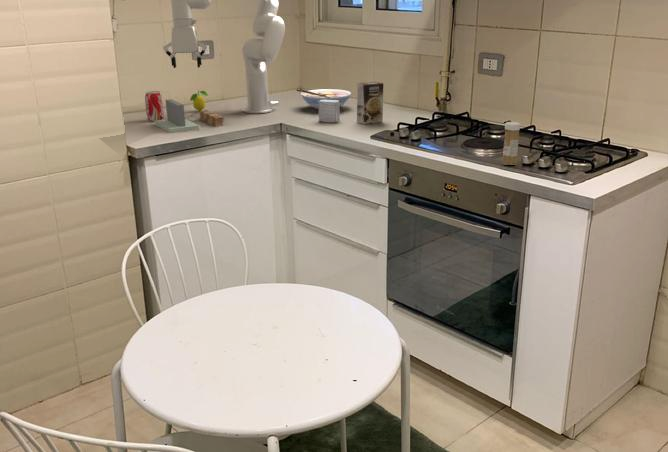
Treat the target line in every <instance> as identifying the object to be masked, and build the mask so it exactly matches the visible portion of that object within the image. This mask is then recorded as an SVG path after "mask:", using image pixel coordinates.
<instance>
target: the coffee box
mask: <svg viewBox="0 0 668 452" xmlns="http://www.w3.org/2000/svg"><path fill="white" fill-rule="evenodd" d="M356 86H357V96H356V99H357V102H356V122H357V123H359V122H360V123H359V124H361V123H363V124H362V125H370V124H369V123H373V124H378V122H381V123H383V119H384V118H383V117H384V116H383V115H384V112H383V111H384V110H383V109H384V83H382V82H379V81H370V82H367V81H366V82H357V85H356Z"/></svg>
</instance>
